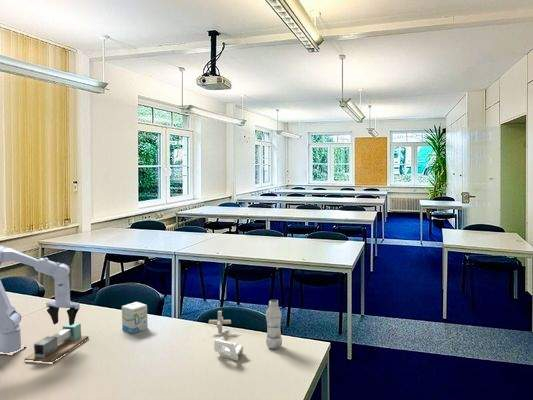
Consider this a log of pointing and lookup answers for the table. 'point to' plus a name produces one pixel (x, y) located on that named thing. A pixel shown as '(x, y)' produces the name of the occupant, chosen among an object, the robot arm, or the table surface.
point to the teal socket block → (74, 330)
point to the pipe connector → (219, 322)
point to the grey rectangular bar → (63, 335)
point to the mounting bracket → (228, 348)
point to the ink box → (134, 317)
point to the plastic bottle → (273, 325)
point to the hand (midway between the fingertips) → (63, 324)
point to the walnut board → (60, 349)
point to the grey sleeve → (45, 347)
